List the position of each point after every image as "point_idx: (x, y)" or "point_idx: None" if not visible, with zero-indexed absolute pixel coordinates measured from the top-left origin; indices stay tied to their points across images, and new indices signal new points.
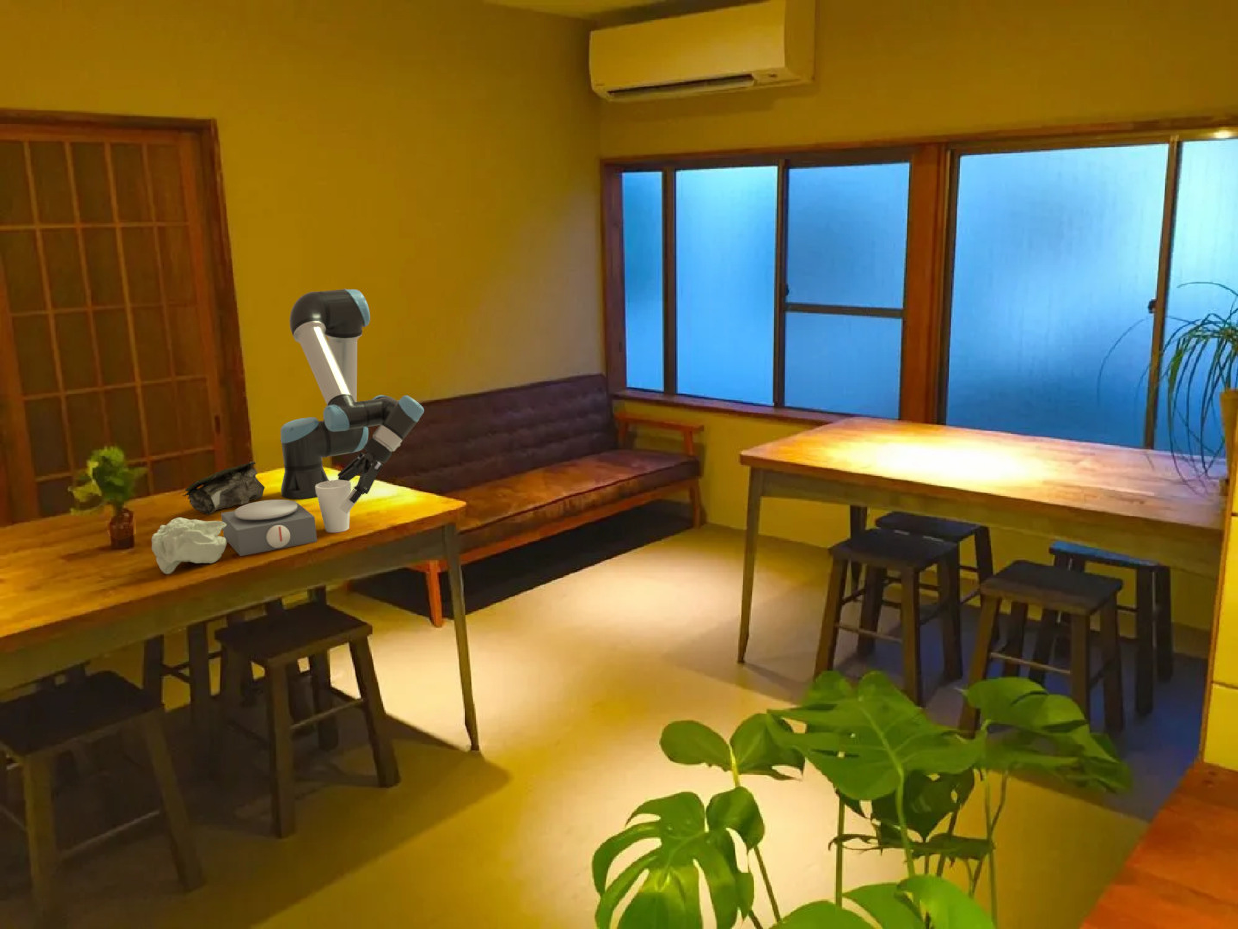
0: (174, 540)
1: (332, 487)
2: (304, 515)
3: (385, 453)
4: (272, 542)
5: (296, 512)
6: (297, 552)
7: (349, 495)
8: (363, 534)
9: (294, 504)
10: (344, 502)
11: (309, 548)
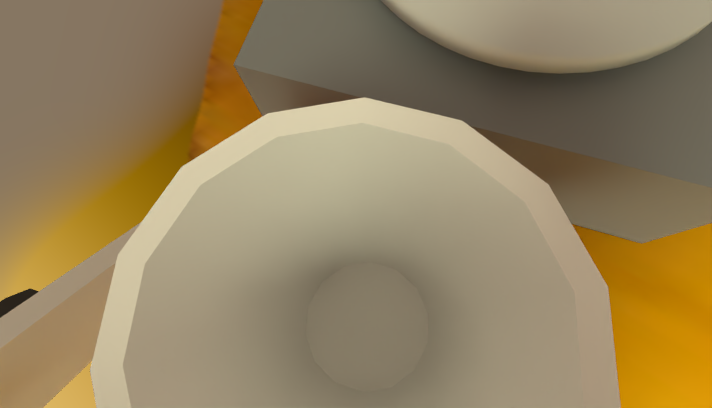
0: None
1: None
2: (313, 42)
3: None
4: None
5: (426, 48)
6: (226, 21)
7: (19, 306)
8: None
9: (466, 17)
10: (97, 255)
11: (225, 73)
